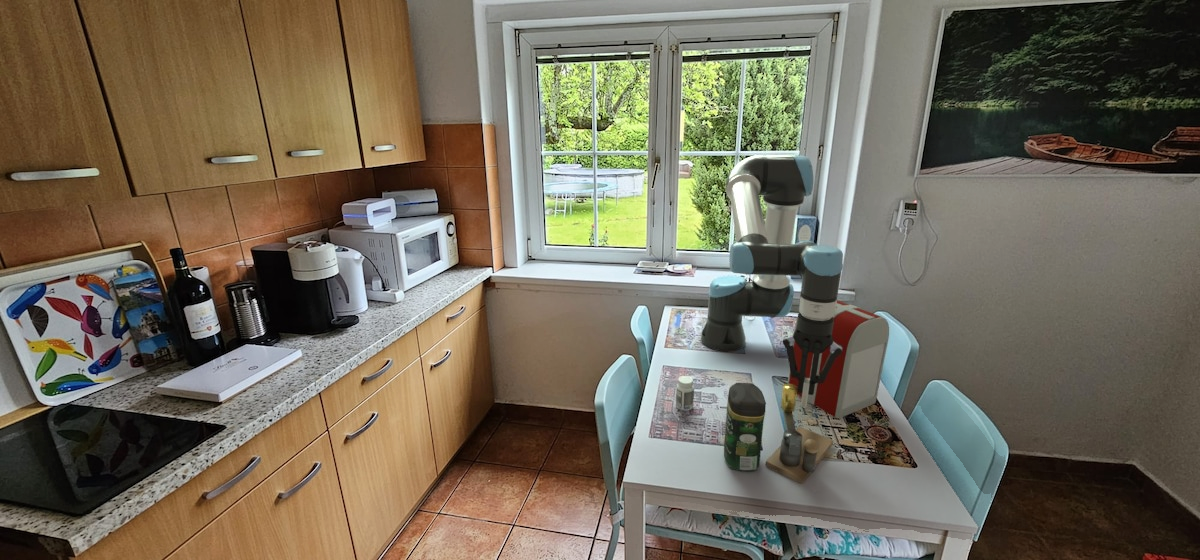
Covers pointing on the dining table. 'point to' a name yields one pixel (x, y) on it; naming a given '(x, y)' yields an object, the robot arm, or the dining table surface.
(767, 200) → the robot arm
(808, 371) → the red white arched box
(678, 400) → the pill bottle
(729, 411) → the coffee jar
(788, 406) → the lever
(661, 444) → the dining table surface
